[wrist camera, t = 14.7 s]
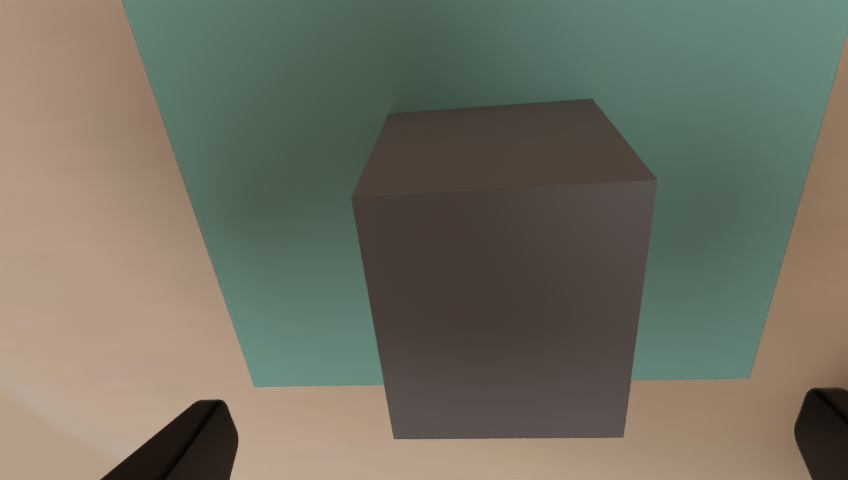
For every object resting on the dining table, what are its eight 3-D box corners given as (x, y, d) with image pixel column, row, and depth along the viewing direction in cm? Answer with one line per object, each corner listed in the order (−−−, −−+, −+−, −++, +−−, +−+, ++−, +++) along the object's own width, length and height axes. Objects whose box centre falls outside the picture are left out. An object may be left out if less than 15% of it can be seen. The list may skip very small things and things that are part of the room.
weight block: (579, 299, 16) (623, 437, 11) (413, 305, 16) (393, 439, 12) (592, 98, 13) (657, 179, 8) (388, 113, 13) (351, 197, 9)
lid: (732, 352, 18) (749, 378, 17) (265, 363, 19) (254, 386, 18) (843, -85, 12) (881, -87, 10) (146, -12, 13) (119, -8, 12)
